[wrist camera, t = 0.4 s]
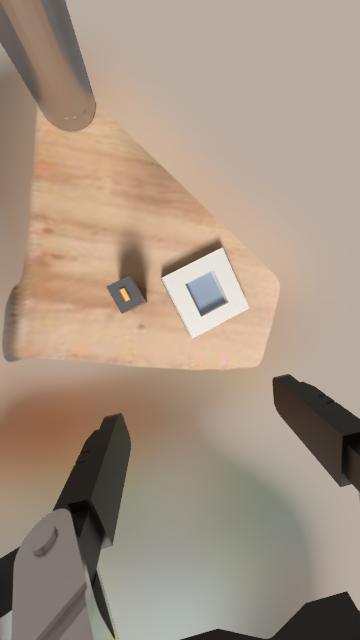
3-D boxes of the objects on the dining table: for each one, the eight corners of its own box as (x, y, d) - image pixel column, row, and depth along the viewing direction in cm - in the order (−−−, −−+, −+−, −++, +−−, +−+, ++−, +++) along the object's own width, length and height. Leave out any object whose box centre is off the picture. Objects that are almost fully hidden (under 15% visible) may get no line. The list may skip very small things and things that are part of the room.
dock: (161, 279, 35) (161, 277, 33) (217, 250, 36) (222, 247, 34) (190, 336, 37) (192, 338, 35) (243, 307, 38) (249, 307, 36)
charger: (119, 290, 34) (105, 286, 25) (135, 282, 35) (128, 275, 25) (130, 310, 35) (121, 313, 26) (146, 302, 35) (143, 302, 26)
